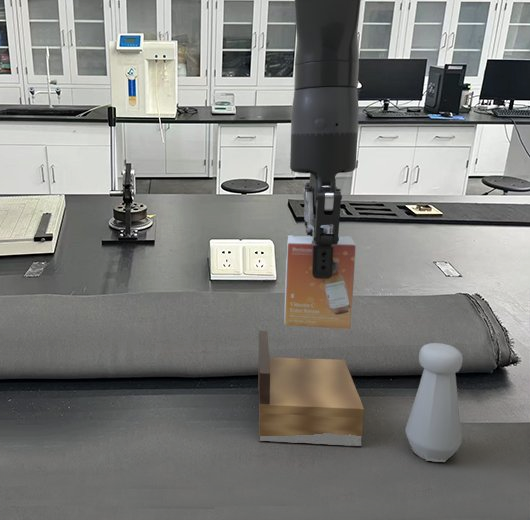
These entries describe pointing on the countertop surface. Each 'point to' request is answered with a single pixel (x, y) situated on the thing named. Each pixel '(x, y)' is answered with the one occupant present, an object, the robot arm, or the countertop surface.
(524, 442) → the countertop surface
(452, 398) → the salt shaker
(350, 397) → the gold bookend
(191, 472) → the countertop surface
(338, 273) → the small box
